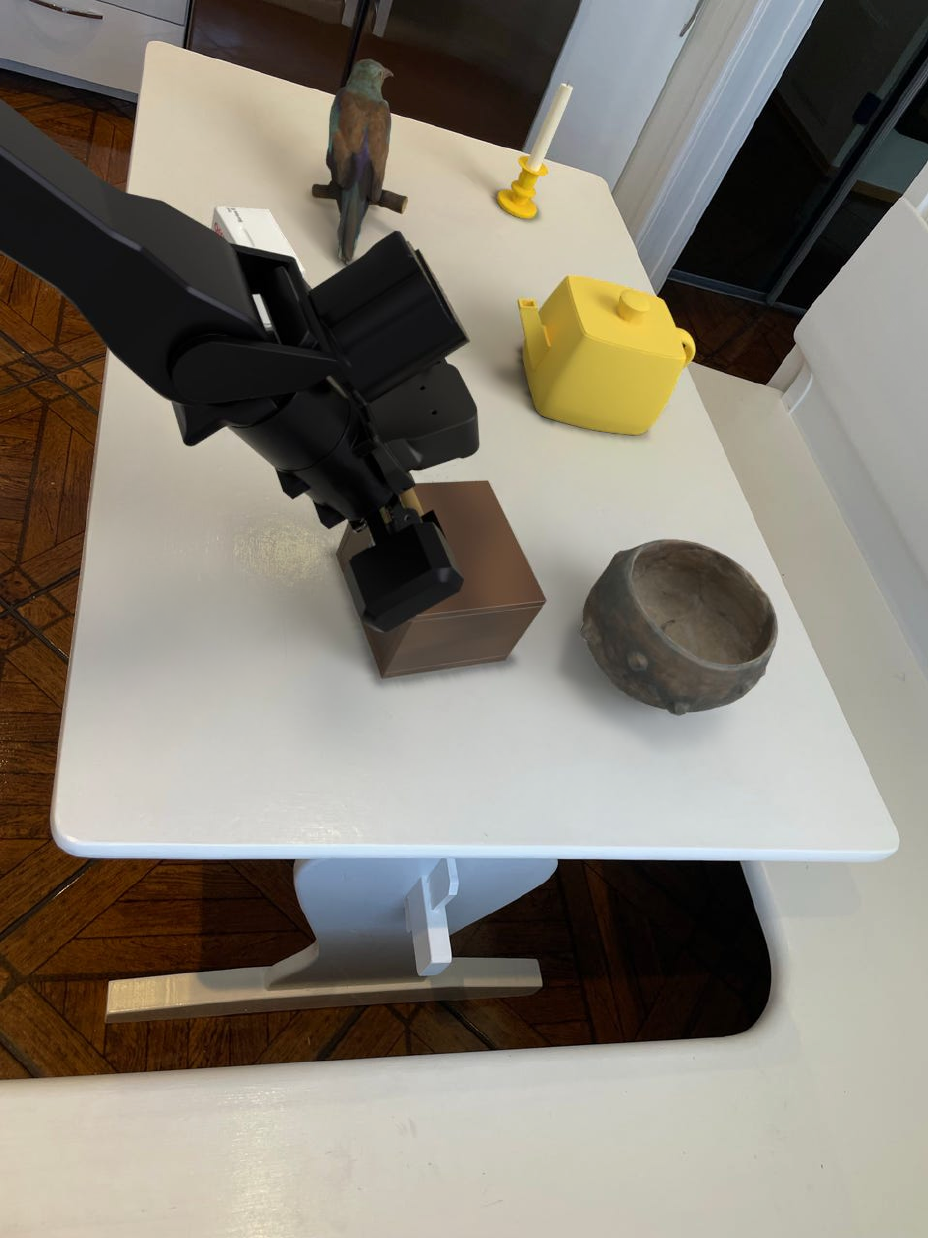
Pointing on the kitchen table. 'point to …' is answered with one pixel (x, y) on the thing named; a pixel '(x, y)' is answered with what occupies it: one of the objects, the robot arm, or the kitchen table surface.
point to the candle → (534, 162)
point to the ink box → (253, 237)
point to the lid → (477, 549)
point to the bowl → (679, 626)
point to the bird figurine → (359, 153)
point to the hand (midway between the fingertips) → (421, 539)
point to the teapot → (602, 355)
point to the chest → (439, 632)
